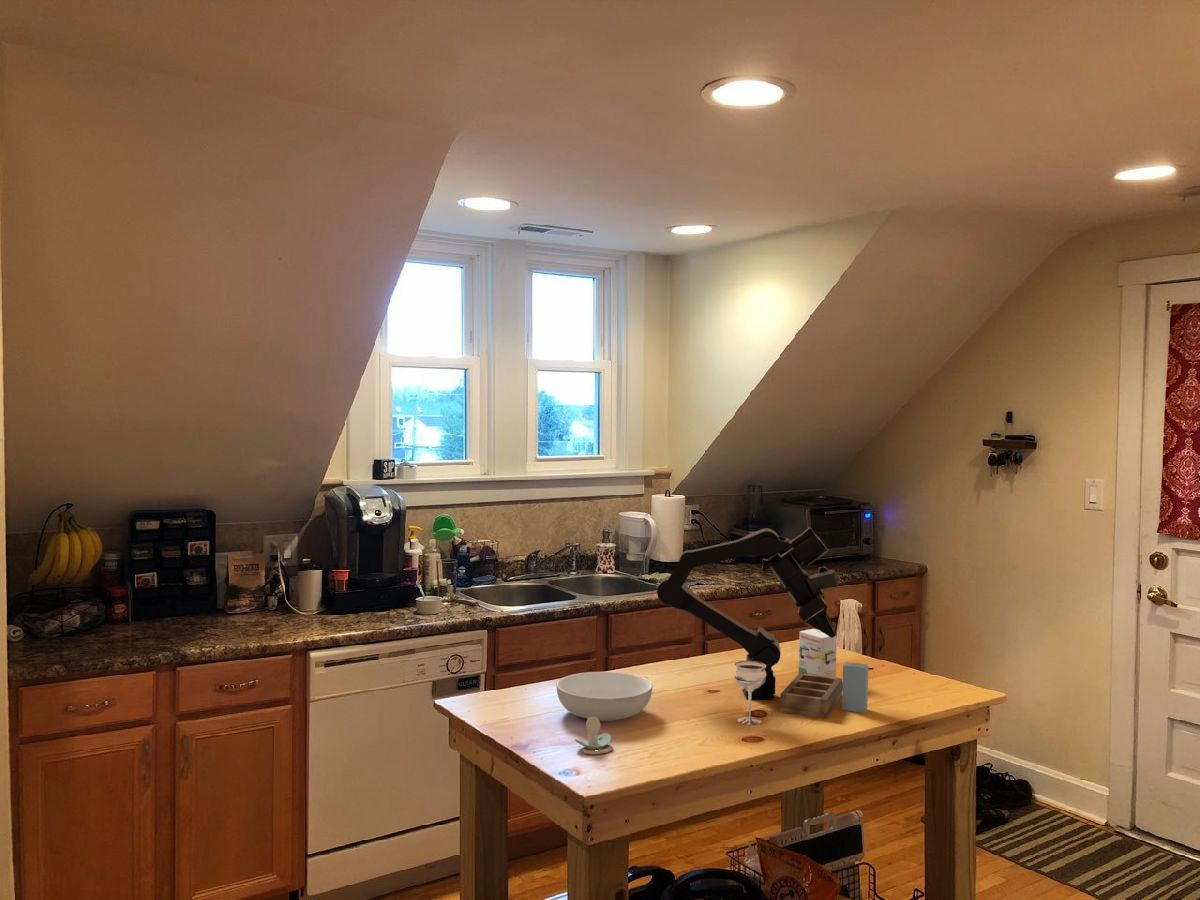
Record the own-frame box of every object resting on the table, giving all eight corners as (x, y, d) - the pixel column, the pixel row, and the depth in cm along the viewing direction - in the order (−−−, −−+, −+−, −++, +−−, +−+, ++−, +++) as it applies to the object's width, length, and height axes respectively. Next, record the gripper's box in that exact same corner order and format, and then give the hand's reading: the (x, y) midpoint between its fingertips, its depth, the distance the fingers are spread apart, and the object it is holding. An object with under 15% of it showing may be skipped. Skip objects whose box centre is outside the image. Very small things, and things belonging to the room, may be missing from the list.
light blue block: (842, 709, 206) (843, 665, 206) (844, 706, 209) (845, 662, 209) (865, 713, 204) (866, 668, 204) (867, 709, 207) (868, 664, 207)
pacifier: (619, 753, 179) (603, 742, 184) (620, 721, 178) (604, 711, 183) (585, 759, 175) (571, 748, 180) (586, 726, 175) (572, 716, 180)
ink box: (797, 676, 232) (798, 630, 232) (811, 674, 235) (812, 628, 234) (822, 685, 225) (823, 637, 224) (836, 682, 228) (837, 634, 227)
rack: (780, 711, 204) (780, 693, 204) (799, 689, 221) (799, 672, 221) (825, 718, 200) (826, 700, 200) (841, 695, 217) (842, 678, 217)
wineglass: (754, 728, 193) (755, 671, 193) (727, 721, 197) (728, 665, 197) (771, 720, 198) (772, 664, 198) (744, 713, 203) (745, 659, 202)
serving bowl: (661, 705, 208) (661, 674, 208) (639, 736, 188) (640, 702, 187) (572, 696, 213) (572, 666, 213) (542, 725, 193) (542, 692, 193)
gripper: (823, 562, 203) (866, 621, 202) (819, 550, 221) (858, 604, 220) (781, 591, 205) (823, 649, 204) (780, 577, 223) (819, 630, 222)
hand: (832, 632), depth 212 cm, fingers open, 9 cm apart
